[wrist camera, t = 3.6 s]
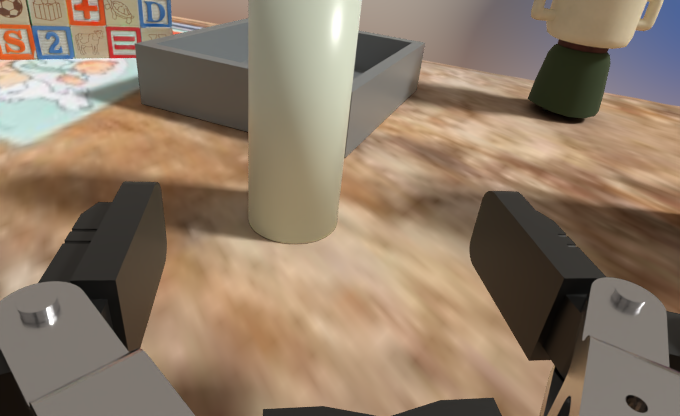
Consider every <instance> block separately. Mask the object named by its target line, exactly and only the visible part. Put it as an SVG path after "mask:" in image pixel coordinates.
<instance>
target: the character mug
mask: <svg viewBox="0 0 680 416" xmlns="http://www.w3.org/2000/svg"><path fill="white" fill-rule="evenodd" d="M545 1H546V0H534V3H533V7H532V10H531V17H532V18H534V19H536V20H544V21H547V22H546V24H547V32H548V33H549V34H550V35H552V36H553V37H555V38H558V39H559V41H558V44H556V45H554V46H553V47H552V48H551V49H550V51H549V52H548V54H547V56H546V58H545V60H544V62H543V65H542V67H541V69H540V71H539V73H538V75H537V77H536V79H535V82H534V84H533V87H532V89H531V92H530V94H529V97H528V99H529V100H530V101H532V102H533V103H535V104H537V105H538V106H540V107H543V111H551V112H554V113H557V114H561V115H564V116H567V117H575V118H587V117H592V116H595V115H596V114H597V113H598V111H599V108H600V104H601V101H602V97H603V94H604V89H605V85H606V80H607V76H608V72H609V67H610V55H609V54H608V53H607V51H608V49H609V48H611V49H613V48H621V47H626V46H627V45H628V43H629V41H630V40H631V39H632V37H633V34H634V32H635V30H639V31H645V30H649V29H651V27H652V26H653V25H654V23H655V20H656V18H657V16H658V13H659V11H660V8H661V6H662V3H663V1H664V0H553V1H552V4H551V8H550V9H546V8H544V5H545ZM647 1H649V2H650V3H649V5H648V8H647V11H646V13H645V16H644V18H643V19H640V17H641V14H642V12H643V9H644V7H645V4H646V2H647Z"/></svg>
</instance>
